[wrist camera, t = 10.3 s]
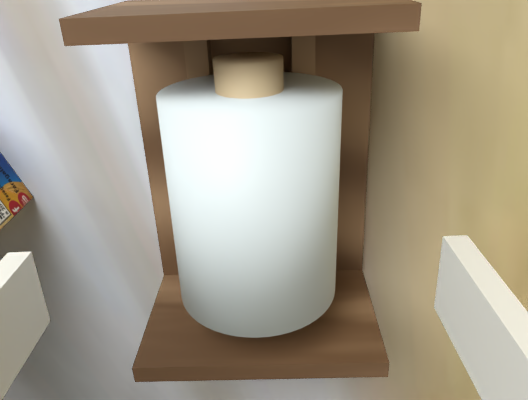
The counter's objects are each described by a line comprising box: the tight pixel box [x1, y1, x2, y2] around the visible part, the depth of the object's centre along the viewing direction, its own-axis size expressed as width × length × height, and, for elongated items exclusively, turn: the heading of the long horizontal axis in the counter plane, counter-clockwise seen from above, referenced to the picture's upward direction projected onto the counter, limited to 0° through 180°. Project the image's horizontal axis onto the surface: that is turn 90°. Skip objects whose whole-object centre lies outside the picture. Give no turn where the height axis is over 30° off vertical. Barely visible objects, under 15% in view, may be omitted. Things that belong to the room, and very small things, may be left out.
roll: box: [156, 52, 343, 338], centre depth 21 cm, size 11×7×7 cm, turn 2°
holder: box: [59, 0, 421, 382], centre depth 22 cm, size 15×11×8 cm
